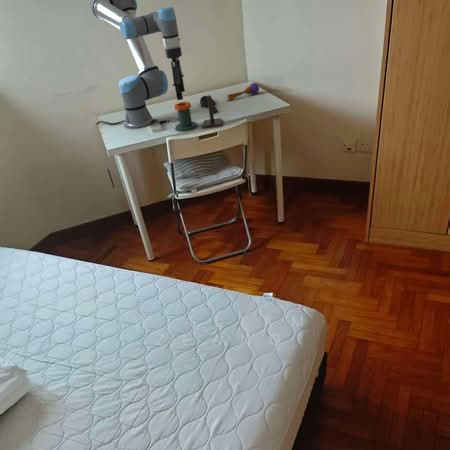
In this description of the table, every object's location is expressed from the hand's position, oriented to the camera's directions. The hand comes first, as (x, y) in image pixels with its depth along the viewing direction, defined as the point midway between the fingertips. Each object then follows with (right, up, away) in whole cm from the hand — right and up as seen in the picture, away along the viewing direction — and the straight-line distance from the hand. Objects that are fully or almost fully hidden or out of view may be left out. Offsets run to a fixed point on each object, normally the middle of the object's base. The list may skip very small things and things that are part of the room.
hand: (181, 95), depth 209 cm
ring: (0, -4, +4) cm, 6 cm away
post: (+16, -10, +10) cm, 21 cm away
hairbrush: (+13, +9, +31) cm, 35 cm away
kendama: (+33, +18, +39) cm, 54 cm away
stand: (+2, -12, +11) cm, 16 cm away
